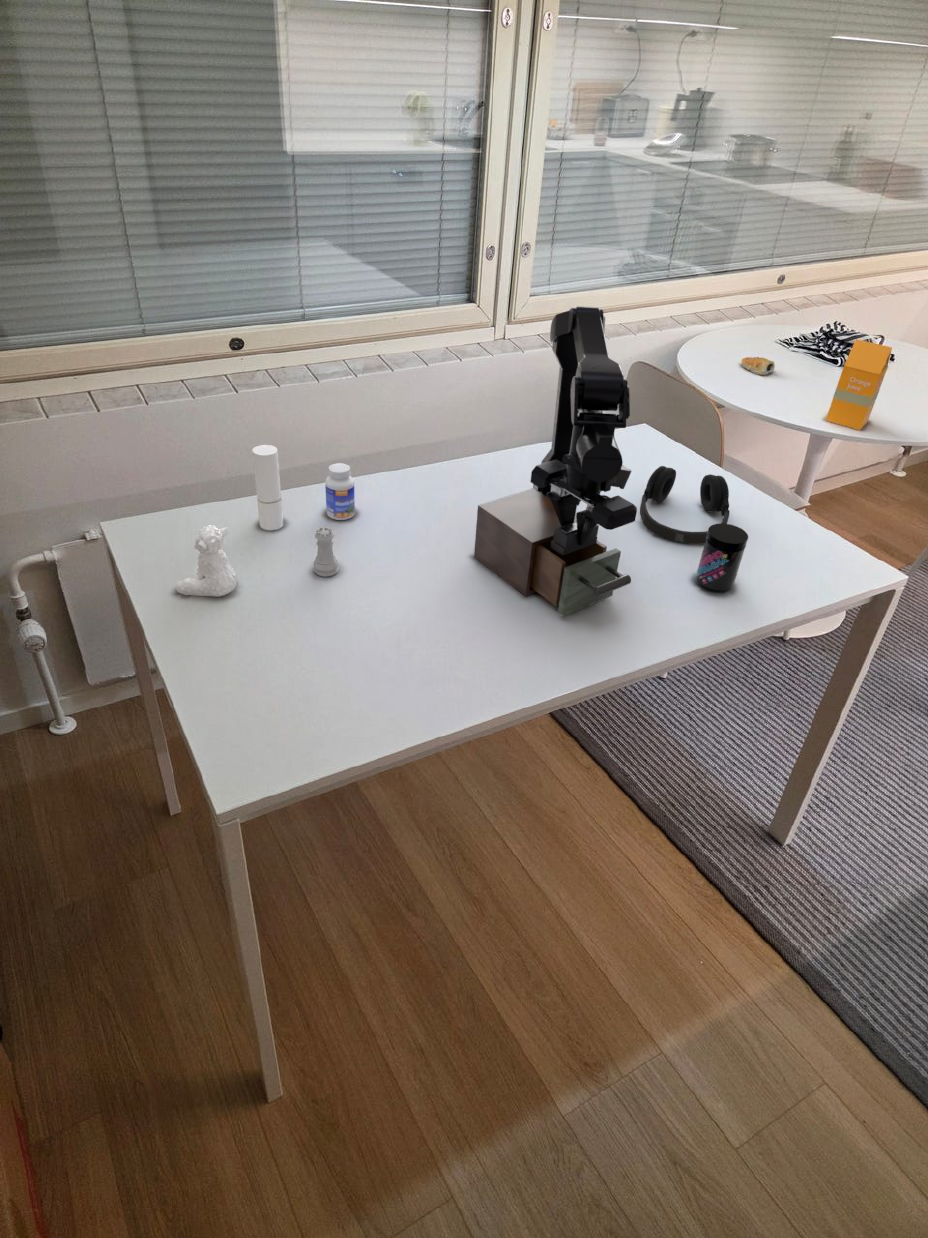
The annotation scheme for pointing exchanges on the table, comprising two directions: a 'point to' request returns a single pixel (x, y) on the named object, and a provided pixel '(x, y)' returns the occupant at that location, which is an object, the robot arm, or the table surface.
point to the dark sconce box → (570, 539)
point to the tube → (268, 487)
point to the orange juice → (859, 384)
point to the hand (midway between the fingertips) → (574, 539)
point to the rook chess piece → (325, 554)
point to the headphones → (711, 498)
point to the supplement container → (721, 557)
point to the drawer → (576, 575)
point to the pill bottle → (340, 492)
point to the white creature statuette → (210, 566)
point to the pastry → (758, 365)
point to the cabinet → (514, 535)
